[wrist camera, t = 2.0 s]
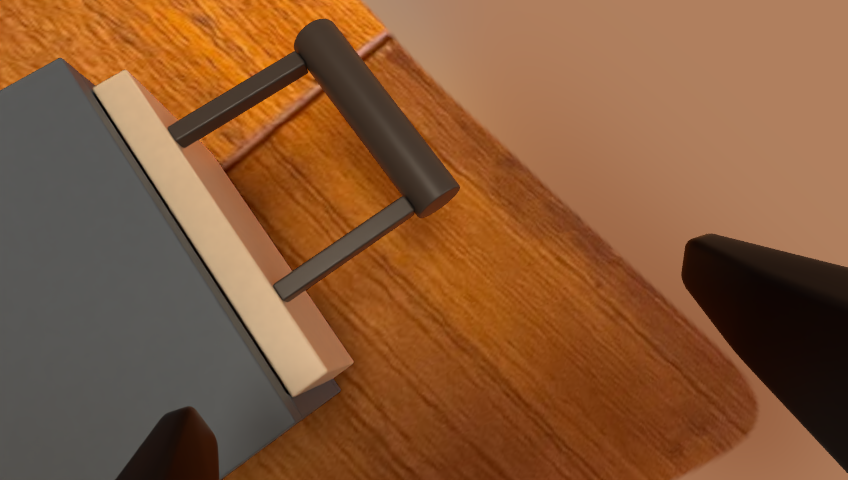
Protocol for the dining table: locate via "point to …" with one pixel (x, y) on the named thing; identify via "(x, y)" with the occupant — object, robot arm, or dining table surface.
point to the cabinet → (109, 303)
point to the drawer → (234, 221)
